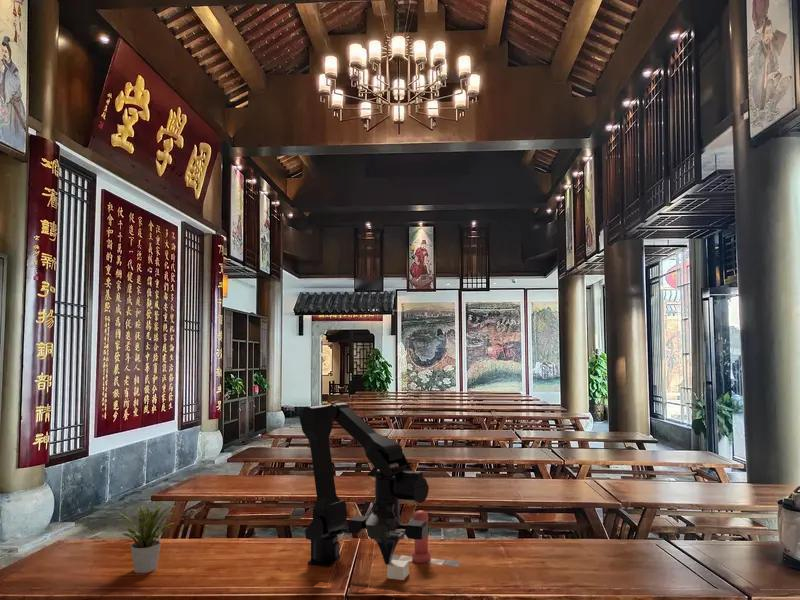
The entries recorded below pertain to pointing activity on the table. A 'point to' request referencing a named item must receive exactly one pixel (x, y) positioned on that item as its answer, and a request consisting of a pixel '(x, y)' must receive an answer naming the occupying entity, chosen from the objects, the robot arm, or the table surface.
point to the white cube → (398, 569)
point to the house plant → (146, 539)
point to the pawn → (421, 542)
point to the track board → (432, 561)
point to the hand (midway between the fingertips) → (387, 564)
